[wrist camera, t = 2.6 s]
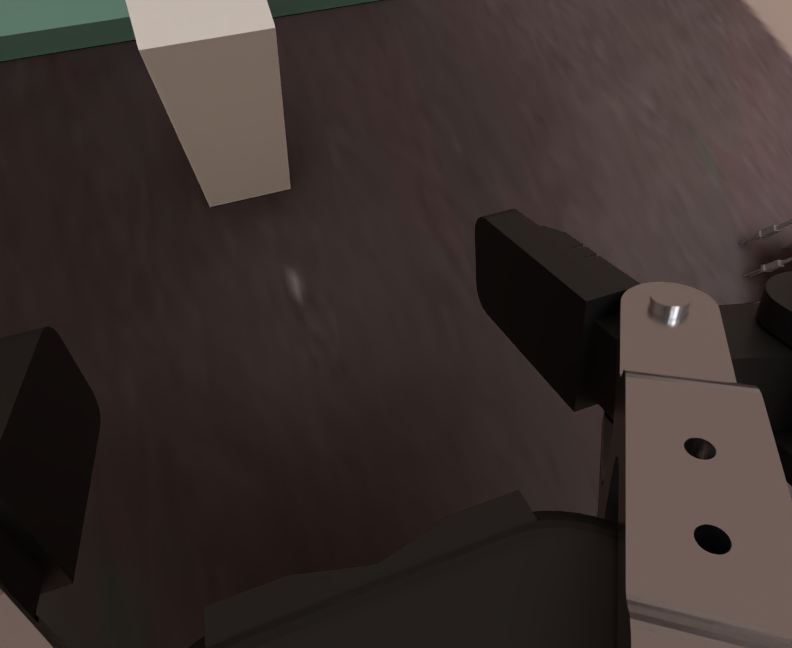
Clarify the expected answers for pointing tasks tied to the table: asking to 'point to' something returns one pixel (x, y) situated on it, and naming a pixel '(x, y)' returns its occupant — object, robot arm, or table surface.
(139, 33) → the keyed plug
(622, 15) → the table surface
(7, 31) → the header board
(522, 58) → the table surface
